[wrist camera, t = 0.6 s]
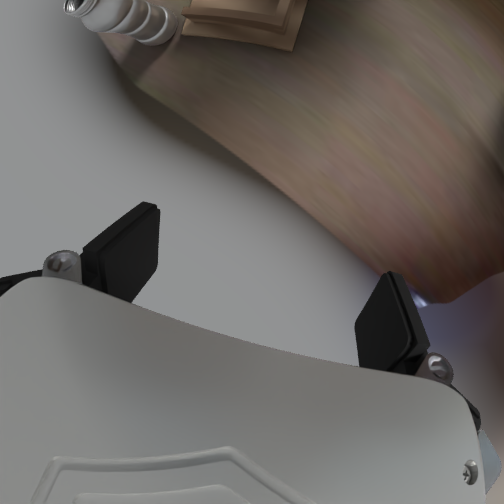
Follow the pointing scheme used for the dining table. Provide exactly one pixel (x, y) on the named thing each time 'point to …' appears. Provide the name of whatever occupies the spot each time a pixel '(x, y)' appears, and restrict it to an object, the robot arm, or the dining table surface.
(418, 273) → the dining table surface
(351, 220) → the dining table surface
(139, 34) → the silver bottle
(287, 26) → the brown tray
